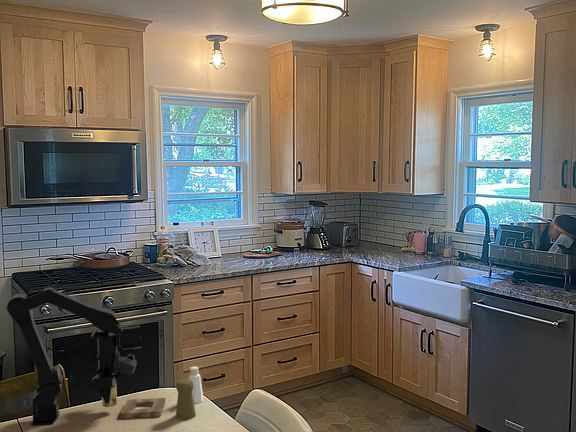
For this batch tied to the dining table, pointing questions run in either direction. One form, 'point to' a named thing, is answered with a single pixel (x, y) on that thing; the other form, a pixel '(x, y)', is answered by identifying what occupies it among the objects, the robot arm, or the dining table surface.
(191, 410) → the pepper shaker
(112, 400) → the brass pin
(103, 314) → the robot arm
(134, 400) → the socket board
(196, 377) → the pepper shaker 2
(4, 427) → the dining table surface
